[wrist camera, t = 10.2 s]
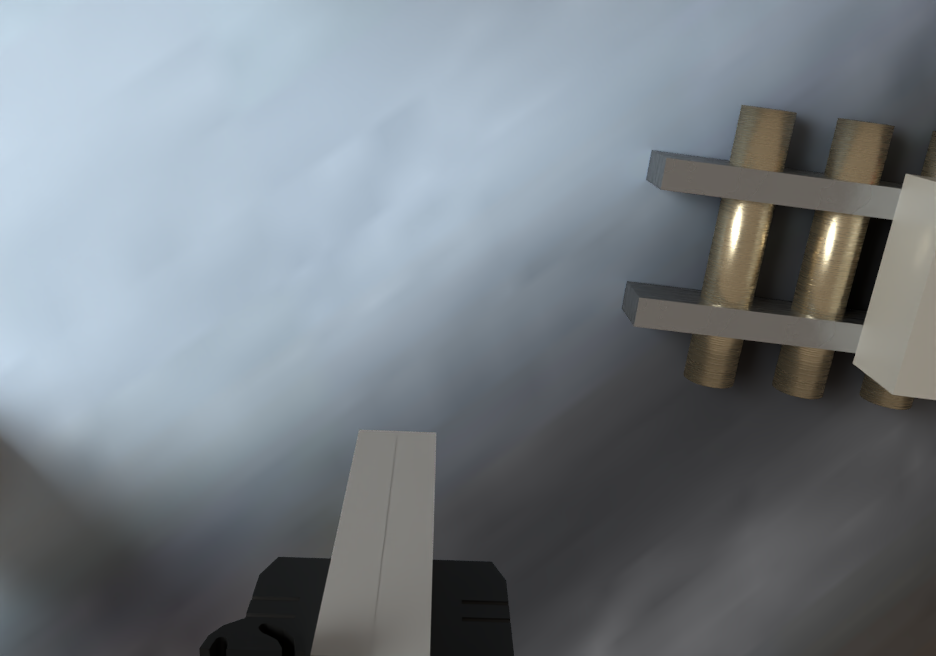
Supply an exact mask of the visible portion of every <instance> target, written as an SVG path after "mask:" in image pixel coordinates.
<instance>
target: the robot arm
mask: <svg viewBox="0 0 936 656" xmlns="http://www.w3.org/2000/svg"><path fill="white" fill-rule="evenodd" d="M435 457H436V433H433V432H406V431H380V430H359V433H358V438H357V442H356V447H355V452H354V456H353V461H352V465H351V470H350V475H349V479H348V484H347V488H346V493H345V498H344V502H343V507H342V511H341V516H340V521H339V525H338V530H337V534H336V539H335V543H334V548H333V553H332V557H331V559H326V558H295V557H278V558H277V559H276V560H275V561H274V562H273V563H272V564H271V565H269V566H268V567H267V568H266V569H265V570H264V571H263V572H262V573H261V574H260V575H259V578H258V581H257V584H256V587H255V590H254V593H253V596H252V600H251V602H250V604H249V607H248V610H247V615H246V617H245V619H241V620H238V621H235V622H232V623H229V624H226V625H223V626H222V627H220V628H219V629H218V630H216V631H215V632H213V633H212V634H210V635H209V636H208V637H207V639H206V640H205V641H204V643H203V644H202V646H201V647H200V656H514V651H513V641H512V632H511V623H510V613H509V606H508V594H507V584H506V580H505V578H504V577H503V576H502V574H501V573H500V572H499V571H498V569H497V568H496V567H495V565H494V564H493V563H492V562H485V561H455V560H433V528H434V493H435Z"/></svg>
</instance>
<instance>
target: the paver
mask: <svg viewBox="0 0 936 656" xmlns="http://www.w3.org/2000/svg"><path fill="white" fill-rule="evenodd" d="M853 364H854V365H855V366H857V367H858V368H859V369H860V370H862V371H863V372H864V373H866V374H867V375H868V376H869V377H871V378H872V379H873V380H874V381H876V382H877V383H878V384H880V385H881V386H882V387H883V388H885V389H886V390H887V391H889V392H890V393H891V394H892V395H899V396H907V397H915V398H923V399H931V400H936V178H934V177H926V176H919V175H912V174H906V175H905V179H904V182H903V186H902V189H901V193H900V196H899V200H898V204H897V207H896V211H895V214H894V218H893V221H892V225H891V229H890V232H889V236H888V239H887V243H886V246H885V250H884V254H883V257H882V261H881V264H880V268H879V271H878V275H877V279H876V282H875V286H874V289H873V293H872V296H871V300H870V304H869V307H868V311H867V314H866V318H865V321H864V325H863V328H862V332H861V336H860V339H859V343H858V346H857V350H856V353H855V357H854V361H853Z"/></svg>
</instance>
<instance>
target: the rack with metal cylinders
mask: <svg viewBox="0 0 936 656" xmlns="http://www.w3.org/2000/svg"><path fill="white" fill-rule="evenodd" d="M796 114H797V113H795V112H789V111H783V110H776V109H769V108H762V107H755V106H747V105H742V106H741V111H740V115H739V120H738V124H737V129H736V134H735V138H734V143H733V148H732V152H731V157H730V161H729V160H721V159H714V158H706V157H699V156H691V155H683V154H676V153H668V152H661V151H653V150H652V152H651V157H650V163H649V168H648V173H647V178H646V180H647V181H649V182H650V183H652V184H653V185H654V186H656V187H657V188H659V189H660V190H668V191H676V192H683V193H691V194H699V195H707V196H714V197H722V199H721V203H720V208H719V212H718V217H717V222H716V226H715V231H714V236H713V240H712V245H711V250H710V254H709V259H708V263H707V268H706V273H705V277H704V282H703V287H702V290H694V289H686V288H678V287H670V286H661V285H653V284H645V283H637V282H629V281H627V284H626V289H625V294H624V300H623V305H622V309H623V311H624V312H625V314H626V315H627V317H628V318H629V320H630V321H631V323H632V324H633V326H635V327H643V328H651V329H660V330H668V331H676V332H684V333H692V338H691V342H690V347H689V351H688V356H687V361H686V365H685V370H684V376H685V377H686V378H687V379H688V380H690V381H692V382H694V383H697V384H700V385H703V386H707V387H713V388H729V387H732V386H733V383H734V379H735V375H736V371H737V366H738V362H739V358H740V354H741V349H742V345H743V341H744V340H751V341H759V342H767V343H776V344H782V346H781V350H780V354H779V358H778V362H777V366H776V370H775V375H774V379H773V383H772V385H773V386H774V387H775V388H776V389H777V390H779V391H781V392H783V393H786V394H789V395H792V396H795V397H800V398H806V399H819V398H821V397H822V396H823V393H824V389H825V385H826V382H827V378H828V374H829V370H830V367H831V363H832V359H833V355H834V352H835V351H842V352H850V353H856V350H857V346H858V343H859V339H860V336H861V332H862V328H863V325H864V321H865V318H866V314H867V311H864V310H855V309H847V308H846V307H847V303H848V299H849V295H850V292H851V288H852V284H853V280H854V277H855V273H856V269H857V265H858V262H859V258H860V254H861V250H862V247H863V243H864V239H865V235H866V232H867V228H868V224H869V220H870V217H876V218H883V219H891V220H893V218H894V214H895V211H896V207H897V204H898V200H899V196H900V193H901V189H902V186H903V184H902V183H895V182H887V181H880V179H881V175H882V172H883V168H884V164H885V160H886V157H887V153H888V149H889V146H890V142H891V138H892V134H893V131H894V127H895V126H891V125H885V124H878V123H872V122H865V121H858V120H850V119H842V118H838V120H837V124H836V128H835V132H834V137H833V141H832V145H831V149H830V153H829V157H828V161H827V165H826V169H825V173H819V172H812V171H804V170H797V169H789V168H784V166H785V161H786V157H787V153H788V149H789V144H790V140H791V136H792V132H793V127H794V123H795V119H796ZM921 176H926V177H934V178H936V131H933V133H932V136H931V140H930V144H929V147H928V151H927V154H926V158H925V161H924V165H923V169H922V172H921ZM775 204H776V205H783V206H791V207H799V208H806V209H814V210H815V213H814V217H813V221H812V225H811V229H810V233H809V237H808V241H807V245H806V249H805V254H804V258H803V262H802V266H801V270H800V274H799V278H798V282H797V286H796V290H795V294H794V298H793V302H791V301H783V300H775V299H767V298H758V297H754V294H755V290H756V285H757V281H758V277H759V272H760V268H761V264H762V260H763V255H764V251H765V247H766V243H767V238H768V234H769V230H770V226H771V221H772V217H773V213H774V208H775ZM860 396H861V397H862V398H864V399H865V400H867V401H869V402H872V403H874V404H877V405H880V406H883V407H887V408H892V409H901V410H905V409H910V408H911V406H912V403H913V400H914V397H907V396H899V395H892V394H891V393H890V392H889V391H887V390H886V389H885V388H883V387H882V386H881V385H880V384H878V383H877V382H876V381H874V380H873V379H872V378H871V377H869V376H868V375H867V374H866V373H865V376H864V379H863V383H862V387H861V390H860Z"/></svg>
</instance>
